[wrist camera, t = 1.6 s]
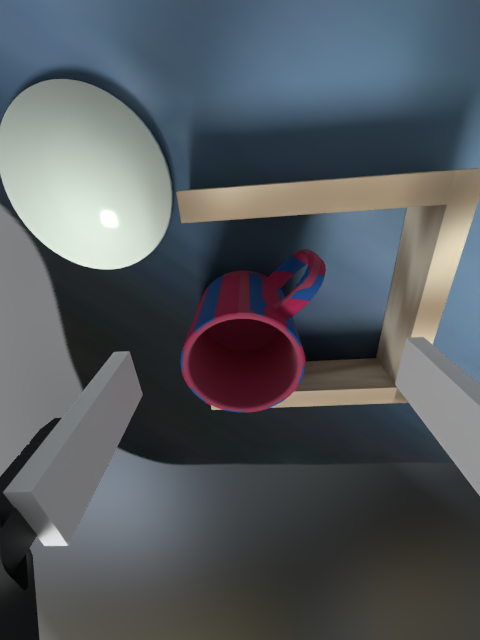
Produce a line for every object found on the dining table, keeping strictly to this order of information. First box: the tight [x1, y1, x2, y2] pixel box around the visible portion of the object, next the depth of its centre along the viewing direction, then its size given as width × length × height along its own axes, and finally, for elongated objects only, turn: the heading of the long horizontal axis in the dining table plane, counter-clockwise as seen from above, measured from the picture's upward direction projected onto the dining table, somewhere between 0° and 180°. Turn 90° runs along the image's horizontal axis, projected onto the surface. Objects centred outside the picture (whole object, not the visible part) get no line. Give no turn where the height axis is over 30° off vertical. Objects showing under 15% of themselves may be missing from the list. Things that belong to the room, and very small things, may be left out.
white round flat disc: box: [0, 79, 173, 269], centre depth 16 cm, size 10×10×1 cm
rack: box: [177, 168, 480, 410], centre depth 18 cm, size 15×15×4 cm
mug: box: [181, 249, 326, 412], centre depth 17 cm, size 7×10×7 cm
